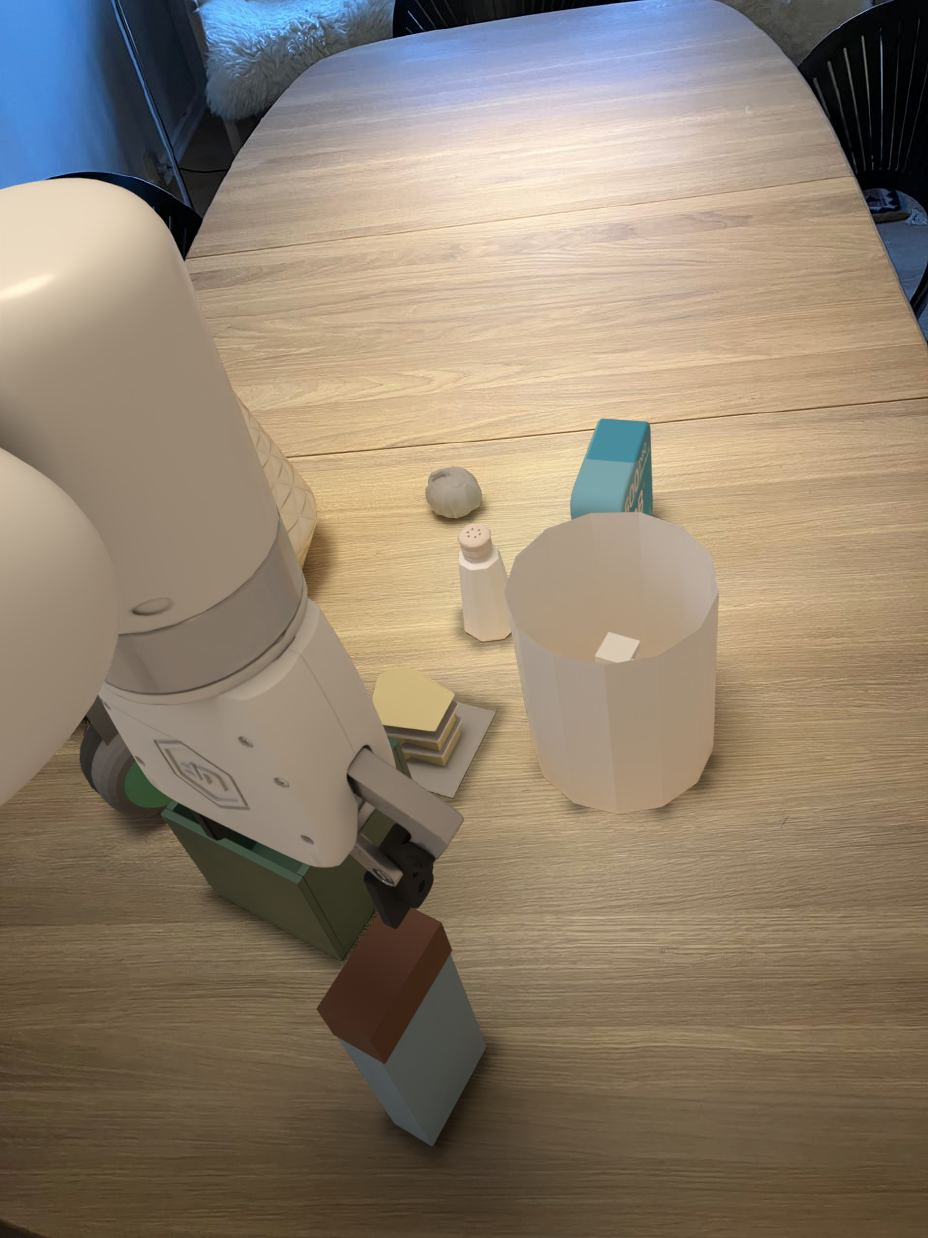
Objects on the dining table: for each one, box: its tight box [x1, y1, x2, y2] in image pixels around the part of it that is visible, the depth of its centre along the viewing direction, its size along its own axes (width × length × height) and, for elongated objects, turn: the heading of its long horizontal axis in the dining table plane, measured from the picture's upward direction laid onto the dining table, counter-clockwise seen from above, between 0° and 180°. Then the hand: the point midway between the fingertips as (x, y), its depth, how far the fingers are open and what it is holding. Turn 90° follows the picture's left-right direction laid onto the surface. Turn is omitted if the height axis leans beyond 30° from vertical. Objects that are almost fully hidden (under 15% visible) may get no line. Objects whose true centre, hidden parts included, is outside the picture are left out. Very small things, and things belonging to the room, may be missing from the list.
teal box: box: [569, 418, 654, 520], centre depth 93 cm, size 12×4×12 cm, turn 162°
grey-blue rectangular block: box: [336, 953, 487, 1147], centre depth 62 cm, size 7×3×15 cm, turn 149°
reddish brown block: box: [316, 907, 453, 1064], centre depth 55 cm, size 7×4×4 cm, turn 149°
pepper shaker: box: [457, 523, 512, 643], centre depth 90 cm, size 5×5×11 cm
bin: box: [160, 736, 412, 962], centre depth 76 cm, size 12×12×12 cm
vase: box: [234, 391, 318, 570], centre depth 95 cm, size 17×17×23 cm
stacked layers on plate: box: [371, 665, 497, 799], centre depth 85 cm, size 10×9×6 cm
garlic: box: [424, 465, 483, 519], centre depth 104 cm, size 6×5×5 cm
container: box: [504, 512, 720, 815], centre depth 77 cm, size 14×14×18 cm
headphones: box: [79, 695, 173, 817], centre depth 84 cm, size 19×11×20 cm, turn 36°
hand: (318, 854), depth 46 cm, fingers open, 9 cm apart
